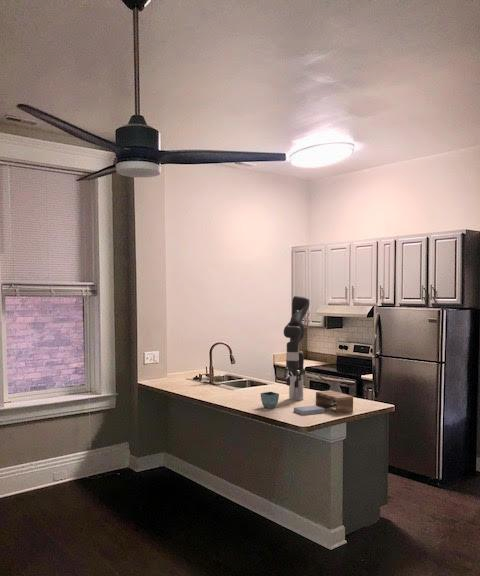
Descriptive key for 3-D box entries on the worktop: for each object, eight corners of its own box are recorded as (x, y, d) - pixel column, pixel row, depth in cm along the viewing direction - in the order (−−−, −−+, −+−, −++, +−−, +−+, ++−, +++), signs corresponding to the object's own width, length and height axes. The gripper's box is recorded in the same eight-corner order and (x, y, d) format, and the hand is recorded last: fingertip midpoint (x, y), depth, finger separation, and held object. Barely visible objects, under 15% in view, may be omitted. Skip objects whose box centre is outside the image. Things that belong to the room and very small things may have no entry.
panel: (293, 412, 306) (293, 407, 307) (315, 410, 314) (315, 405, 314) (302, 416, 297) (302, 411, 298) (324, 413, 305) (324, 408, 305)
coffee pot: (347, 401, 339) (347, 379, 339) (335, 403, 332) (335, 380, 332) (323, 396, 356) (324, 375, 356) (312, 398, 349) (312, 376, 349)
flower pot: (268, 409, 312) (268, 395, 312) (259, 407, 319) (260, 393, 319) (279, 407, 317) (279, 393, 317) (270, 405, 324) (270, 391, 324)
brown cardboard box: (315, 406, 321) (315, 391, 321) (330, 404, 327) (330, 390, 327) (337, 413, 302) (337, 397, 302) (353, 411, 307) (353, 396, 308)
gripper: (280, 358, 305) (280, 385, 304) (293, 360, 292) (293, 388, 292) (291, 358, 308) (291, 384, 308) (304, 360, 296) (304, 387, 295)
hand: (292, 386), depth 300 cm, fingers open, 8 cm apart
